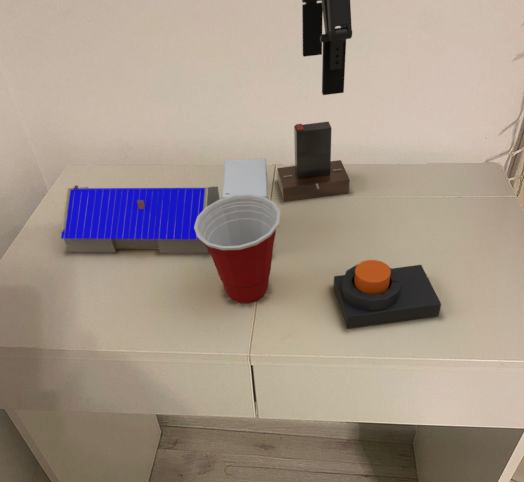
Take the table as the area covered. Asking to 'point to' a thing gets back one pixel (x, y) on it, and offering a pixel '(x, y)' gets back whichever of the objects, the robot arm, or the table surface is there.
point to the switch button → (372, 277)
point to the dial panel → (313, 183)
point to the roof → (134, 218)
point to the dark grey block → (312, 149)
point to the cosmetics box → (245, 177)
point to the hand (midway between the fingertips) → (321, 72)
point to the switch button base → (387, 298)
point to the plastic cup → (240, 243)
